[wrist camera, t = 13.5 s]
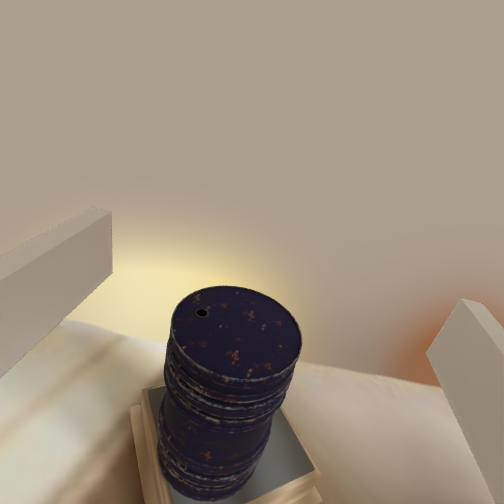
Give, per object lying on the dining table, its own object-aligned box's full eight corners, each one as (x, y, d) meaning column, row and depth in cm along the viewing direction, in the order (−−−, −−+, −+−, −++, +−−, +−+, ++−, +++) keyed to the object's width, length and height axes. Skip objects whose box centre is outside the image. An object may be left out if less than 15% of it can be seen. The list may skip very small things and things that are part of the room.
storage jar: (268, 415, 34) (309, 306, 27) (246, 523, 25) (297, 404, 18) (182, 384, 35) (199, 272, 28) (133, 477, 26) (140, 349, 19)
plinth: (251, 379, 44) (259, 351, 42) (319, 506, 32) (336, 478, 30) (129, 413, 36) (130, 382, 34) (159, 596, 25) (165, 568, 22)
